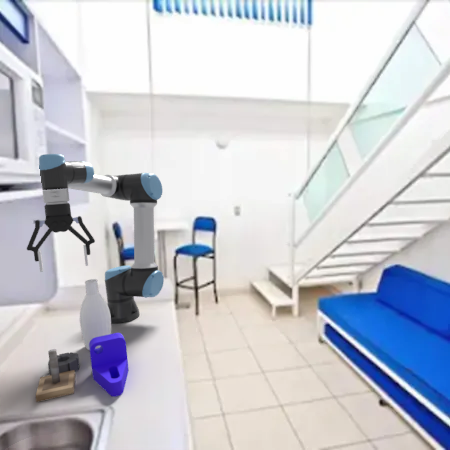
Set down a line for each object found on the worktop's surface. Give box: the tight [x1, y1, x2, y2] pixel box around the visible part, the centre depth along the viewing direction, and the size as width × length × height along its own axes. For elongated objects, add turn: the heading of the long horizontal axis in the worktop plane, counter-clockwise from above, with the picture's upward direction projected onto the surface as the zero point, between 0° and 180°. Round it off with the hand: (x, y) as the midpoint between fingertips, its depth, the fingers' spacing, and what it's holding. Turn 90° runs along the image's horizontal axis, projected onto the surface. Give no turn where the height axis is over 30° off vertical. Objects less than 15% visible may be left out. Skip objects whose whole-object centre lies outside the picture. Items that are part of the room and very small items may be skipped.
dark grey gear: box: [47, 352, 80, 375], centre depth 125 cm, size 9×9×4 cm
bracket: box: [89, 332, 130, 398], centre depth 115 cm, size 18×11×12 cm, turn 24°
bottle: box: [79, 278, 112, 351], centre depth 141 cm, size 11×11×25 cm
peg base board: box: [35, 348, 76, 403], centre depth 113 cm, size 11×10×12 cm
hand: (64, 267), depth 123 cm, fingers open, 13 cm apart
